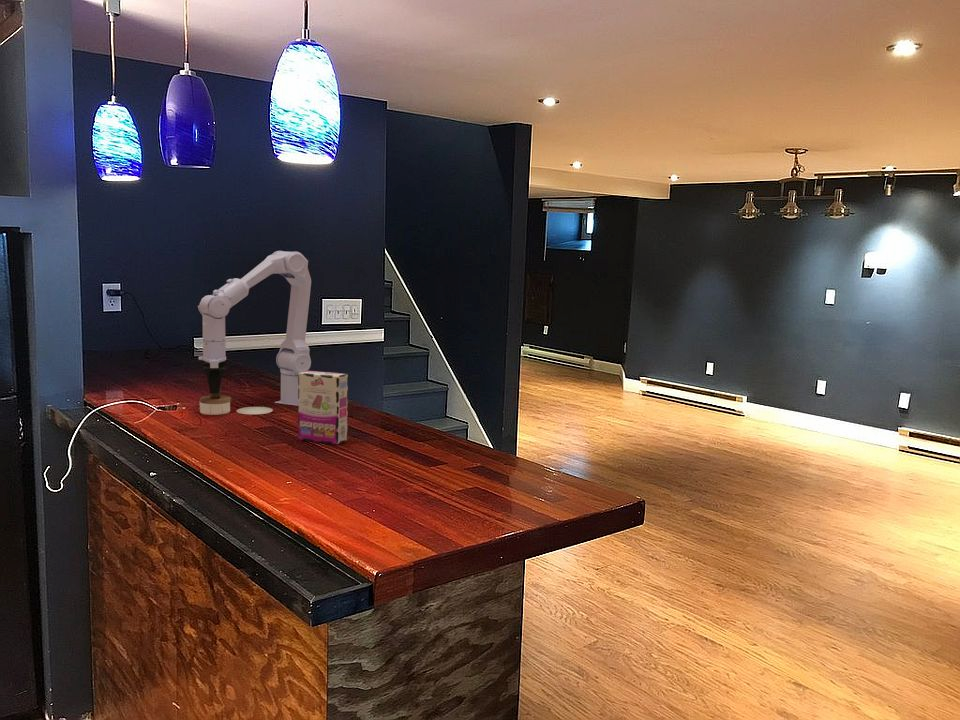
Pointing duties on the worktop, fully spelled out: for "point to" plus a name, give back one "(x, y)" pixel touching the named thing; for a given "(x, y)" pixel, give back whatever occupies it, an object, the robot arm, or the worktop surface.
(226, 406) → the bowl
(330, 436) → the candy bar box
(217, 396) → the lid
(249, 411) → the coaster
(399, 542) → the worktop surface
